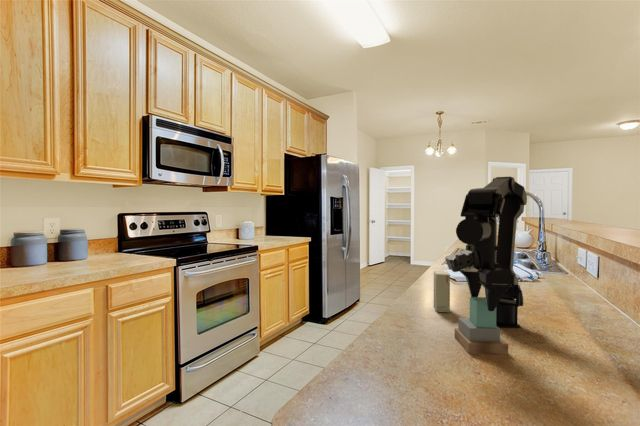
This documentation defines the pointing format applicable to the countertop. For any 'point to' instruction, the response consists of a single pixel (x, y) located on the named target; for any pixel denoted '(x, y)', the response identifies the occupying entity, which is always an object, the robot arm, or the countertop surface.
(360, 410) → the countertop surface
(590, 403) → the countertop surface
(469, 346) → the bottom block
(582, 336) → the countertop surface
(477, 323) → the pillar block
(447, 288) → the skincare box
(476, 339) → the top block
